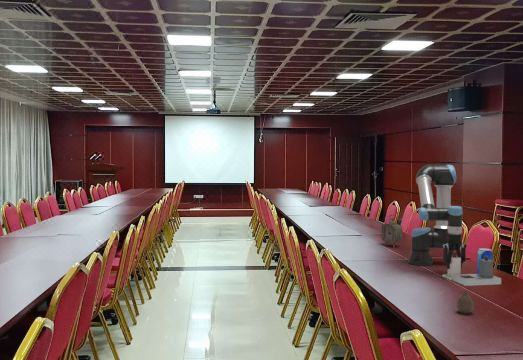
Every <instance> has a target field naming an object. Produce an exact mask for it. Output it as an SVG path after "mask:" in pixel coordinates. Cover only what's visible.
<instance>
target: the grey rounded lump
mask: <svg viewBox="0 0 523 360" xmlns="http://www.w3.org/2000/svg"><path fill="white" fill-rule="evenodd" d="M456 309H457V311H458V312H459V313H461V314H465V315H466V314H467V315H468V314H471V313H472V311H473V309H474V301H473V299H472V298H471V296H470V295H469V292H464V291H463V292H461V294H460V295H459V296H458V298H457V299H456Z"/></svg>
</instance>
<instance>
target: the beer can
mask: <svg viewBox="0 0 523 360" xmlns="http://www.w3.org/2000/svg"><path fill="white" fill-rule="evenodd" d="M484 256H488V260H492V261H493V260H494V253H493V251H492V249H491V248H487V247H486V248H485V247H484V248H481V247H480V248H478V250H477V252H476V274H479V259H484ZM493 262H494V261H493Z"/></svg>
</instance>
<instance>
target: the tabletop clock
mask: <svg viewBox="0 0 523 360" xmlns="http://www.w3.org/2000/svg"><path fill="white" fill-rule="evenodd" d="M391 216H393V217H394V218H391ZM388 218H389V222H388V223H383V224H382V227H381V239H382V241H383V242H385V243H384V244H383V245H384V246H387V244H393V245H392V248H394V249H395V247H396V243H400V242H402V239H403V227H402V226H401V225H400V224H398V223H396V221H395V220H396V216H395V215H394V214H390V215H389V217H388Z"/></svg>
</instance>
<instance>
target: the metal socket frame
mask: <svg viewBox="0 0 523 360" xmlns="http://www.w3.org/2000/svg"><path fill="white" fill-rule="evenodd" d="M452 281H453V282H455V283H458V284H460V285H463V286H464V287H471V286H472V287H473V286H474V287H475V286H494V285H502V277H498V276H497V275H493V277H490V278H483V277H481V276H479V274H477V273H465V274H464V273H463V274H462V273H461V274H459V275H453V280H452Z"/></svg>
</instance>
